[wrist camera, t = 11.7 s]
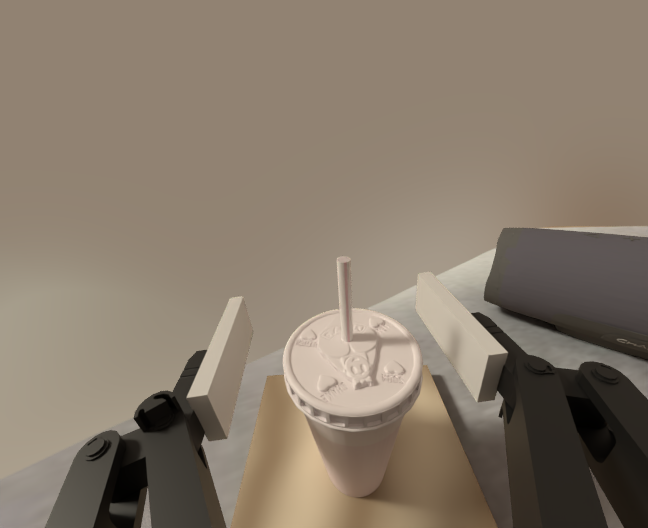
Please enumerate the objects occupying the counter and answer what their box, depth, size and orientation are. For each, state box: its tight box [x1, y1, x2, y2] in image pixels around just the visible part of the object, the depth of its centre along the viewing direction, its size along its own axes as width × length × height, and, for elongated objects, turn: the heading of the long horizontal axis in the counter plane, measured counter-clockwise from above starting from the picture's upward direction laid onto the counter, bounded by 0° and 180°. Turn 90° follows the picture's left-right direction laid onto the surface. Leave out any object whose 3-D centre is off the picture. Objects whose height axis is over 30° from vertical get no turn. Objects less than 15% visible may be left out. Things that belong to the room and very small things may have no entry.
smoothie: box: [283, 257, 423, 497], centre depth 13 cm, size 6×6×14 cm
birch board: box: [231, 365, 498, 528], centre depth 17 cm, size 14×14×1 cm
